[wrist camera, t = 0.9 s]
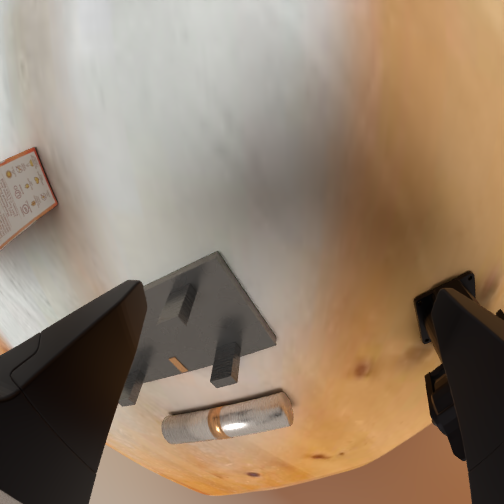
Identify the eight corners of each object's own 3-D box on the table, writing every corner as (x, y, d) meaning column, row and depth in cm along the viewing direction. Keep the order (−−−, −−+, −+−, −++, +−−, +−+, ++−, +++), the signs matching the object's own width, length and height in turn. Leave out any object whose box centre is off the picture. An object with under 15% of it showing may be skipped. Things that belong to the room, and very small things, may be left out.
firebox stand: (276, 337, 28) (276, 380, 23) (124, 381, 33) (112, 413, 29) (217, 251, 24) (205, 290, 19) (67, 323, 29) (46, 355, 25)
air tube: (278, 384, 31) (277, 414, 28) (293, 404, 33) (293, 432, 29) (166, 409, 36) (157, 434, 32) (184, 426, 37) (177, 449, 34)
